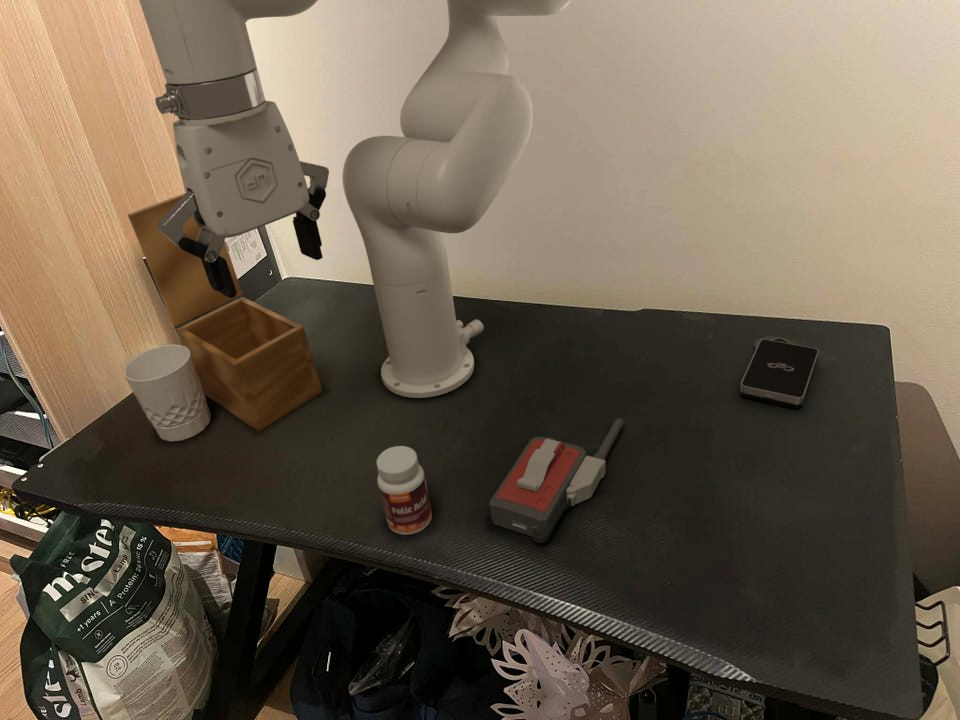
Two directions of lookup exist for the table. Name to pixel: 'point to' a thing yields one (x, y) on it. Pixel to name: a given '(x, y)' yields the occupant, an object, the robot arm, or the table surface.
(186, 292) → the caddy lid
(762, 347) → the external hard drive
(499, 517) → the walkie-talkie
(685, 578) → the table surface
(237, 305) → the box
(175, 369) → the white cup
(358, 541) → the table surface
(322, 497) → the table surface
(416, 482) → the pill bottle
